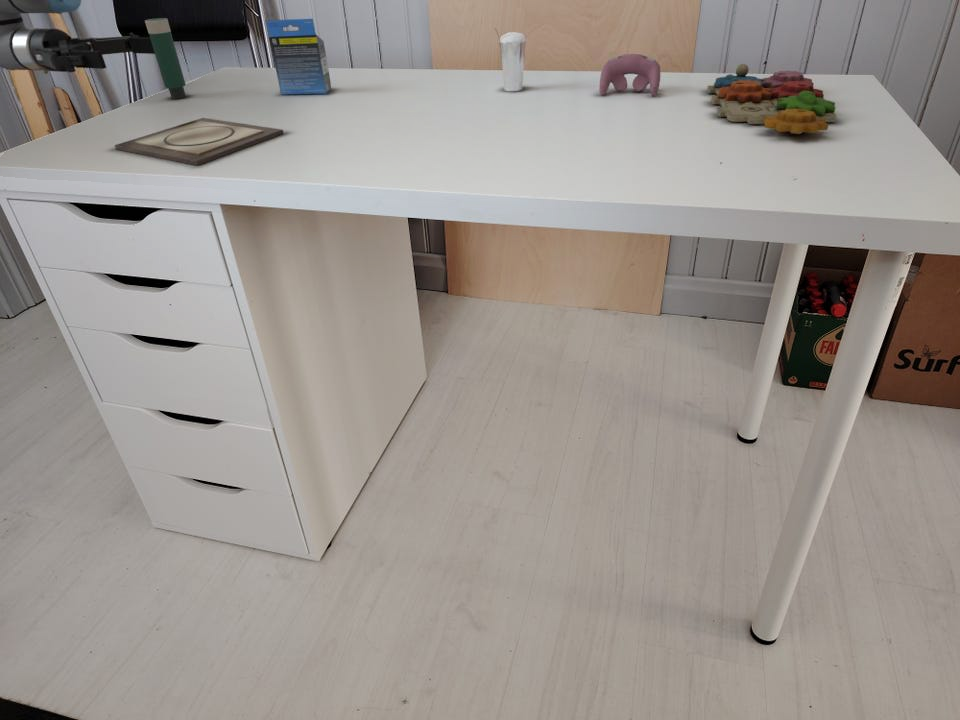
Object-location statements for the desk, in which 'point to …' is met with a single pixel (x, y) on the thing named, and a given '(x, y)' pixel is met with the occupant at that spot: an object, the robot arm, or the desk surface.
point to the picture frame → (199, 140)
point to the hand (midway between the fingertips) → (131, 52)
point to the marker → (166, 56)
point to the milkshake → (512, 59)
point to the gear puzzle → (773, 101)
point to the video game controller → (630, 65)
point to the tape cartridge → (299, 57)
